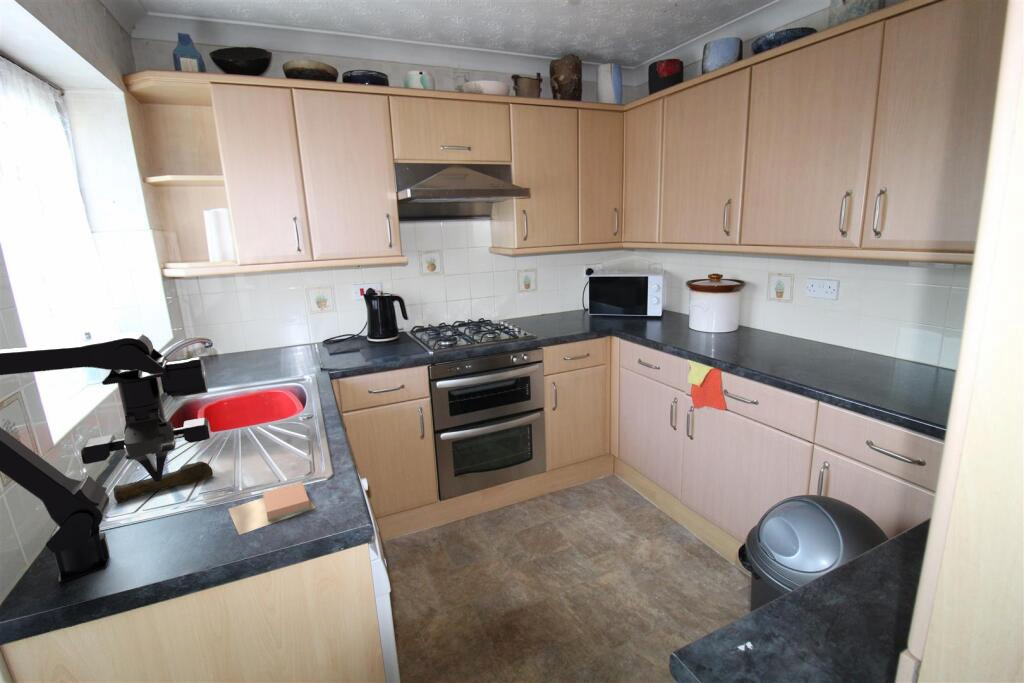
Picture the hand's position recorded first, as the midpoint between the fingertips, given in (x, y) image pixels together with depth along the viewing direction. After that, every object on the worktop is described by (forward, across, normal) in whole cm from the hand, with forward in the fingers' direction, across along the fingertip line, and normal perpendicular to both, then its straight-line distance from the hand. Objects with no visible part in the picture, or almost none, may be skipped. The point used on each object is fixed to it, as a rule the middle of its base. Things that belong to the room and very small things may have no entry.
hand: (158, 481), depth 93 cm
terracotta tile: (+11, +17, 0) cm, 20 cm away
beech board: (+13, +18, 0) cm, 22 cm away
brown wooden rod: (+14, -3, +27) cm, 30 cm away
